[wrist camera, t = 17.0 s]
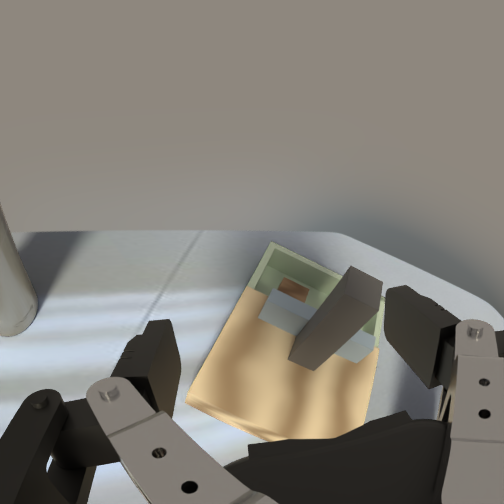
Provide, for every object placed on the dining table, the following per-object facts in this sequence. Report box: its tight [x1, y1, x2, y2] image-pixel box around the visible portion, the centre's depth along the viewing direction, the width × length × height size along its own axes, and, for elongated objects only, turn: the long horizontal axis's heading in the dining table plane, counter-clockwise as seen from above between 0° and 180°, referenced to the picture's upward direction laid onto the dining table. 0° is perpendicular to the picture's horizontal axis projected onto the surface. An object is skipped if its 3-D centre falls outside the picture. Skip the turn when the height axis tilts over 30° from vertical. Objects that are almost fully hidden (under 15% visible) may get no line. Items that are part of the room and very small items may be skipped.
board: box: [185, 286, 379, 442], centre depth 37 cm, size 20×16×5 cm
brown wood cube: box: [277, 277, 310, 303], centre depth 45 cm, size 4×4×4 cm
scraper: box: [258, 266, 383, 371], centre depth 33 cm, size 14×6×14 cm, turn 68°
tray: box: [247, 241, 385, 348], centre depth 46 cm, size 20×10×4 cm, turn 68°
